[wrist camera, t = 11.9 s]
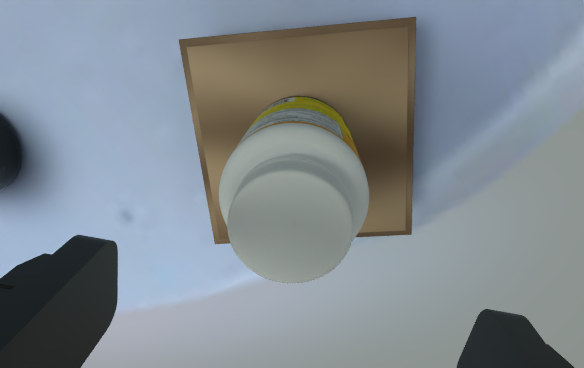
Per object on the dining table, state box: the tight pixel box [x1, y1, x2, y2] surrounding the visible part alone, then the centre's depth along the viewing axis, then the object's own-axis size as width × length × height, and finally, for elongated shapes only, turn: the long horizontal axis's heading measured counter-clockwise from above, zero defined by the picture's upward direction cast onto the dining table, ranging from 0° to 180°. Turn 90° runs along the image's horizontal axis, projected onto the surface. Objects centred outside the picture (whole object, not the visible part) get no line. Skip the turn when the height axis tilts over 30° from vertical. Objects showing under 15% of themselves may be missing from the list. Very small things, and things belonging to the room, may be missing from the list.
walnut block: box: [179, 17, 416, 244], centre depth 24 cm, size 12×12×5 cm
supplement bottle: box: [219, 95, 369, 283], centre depth 17 cm, size 6×6×10 cm
